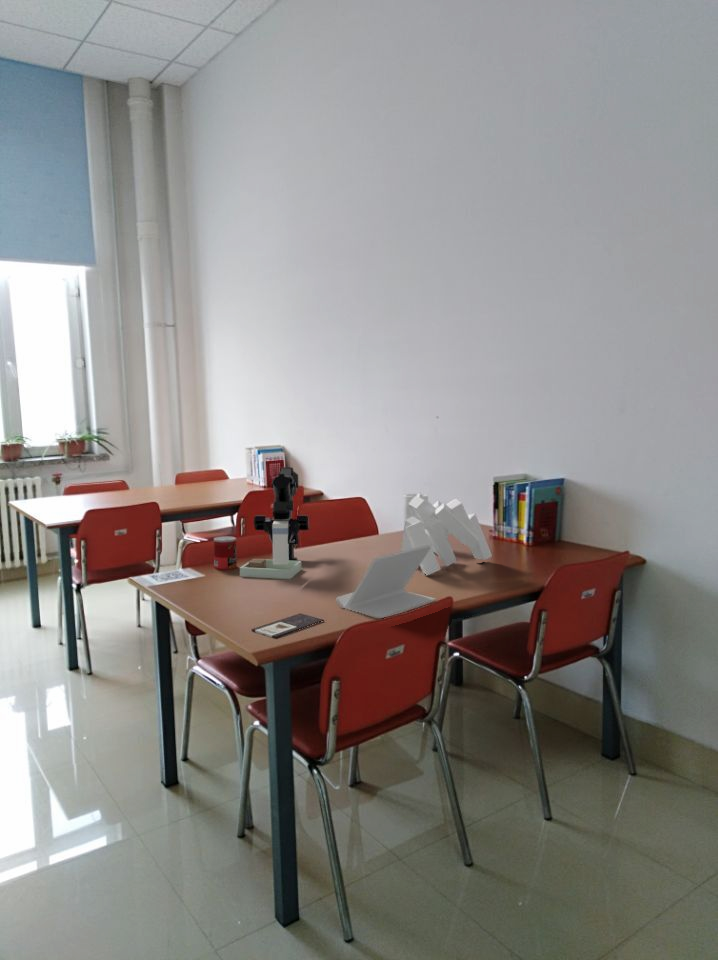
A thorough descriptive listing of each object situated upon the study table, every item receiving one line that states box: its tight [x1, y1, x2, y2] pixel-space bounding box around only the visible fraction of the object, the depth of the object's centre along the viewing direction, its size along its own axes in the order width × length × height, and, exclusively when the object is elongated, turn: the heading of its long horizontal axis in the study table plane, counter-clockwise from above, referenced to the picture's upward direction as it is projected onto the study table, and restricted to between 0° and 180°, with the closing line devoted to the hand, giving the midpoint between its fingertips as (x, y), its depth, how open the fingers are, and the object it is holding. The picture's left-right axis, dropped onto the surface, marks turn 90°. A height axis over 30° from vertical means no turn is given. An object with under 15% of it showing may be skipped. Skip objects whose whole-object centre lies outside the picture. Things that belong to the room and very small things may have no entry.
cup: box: [402, 493, 429, 529], centre depth 287 cm, size 10×10×22 cm
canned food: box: [213, 535, 238, 571], centre depth 252 cm, size 8×8×11 cm
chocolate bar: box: [251, 613, 325, 639], centre depth 189 cm, size 9×1×18 cm
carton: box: [272, 521, 289, 564], centre depth 243 cm, size 5×5×14 cm
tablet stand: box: [335, 545, 436, 619], centre depth 210 cm, size 18×25×17 cm
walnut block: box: [248, 558, 267, 568], centre depth 246 cm, size 5×4×4 cm
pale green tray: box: [239, 558, 302, 580], centre depth 245 cm, size 14×18×4 cm
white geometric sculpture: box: [400, 492, 493, 576], centre depth 254 cm, size 35×30×35 cm
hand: (280, 543), depth 242 cm, fingers closed on carton, 5 cm apart
